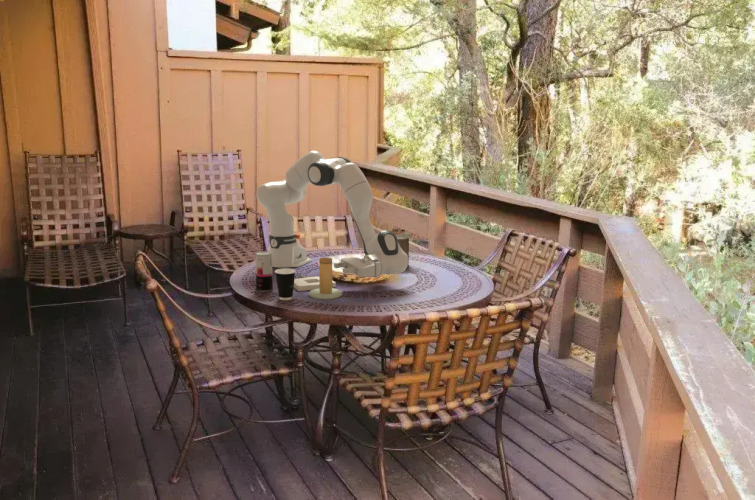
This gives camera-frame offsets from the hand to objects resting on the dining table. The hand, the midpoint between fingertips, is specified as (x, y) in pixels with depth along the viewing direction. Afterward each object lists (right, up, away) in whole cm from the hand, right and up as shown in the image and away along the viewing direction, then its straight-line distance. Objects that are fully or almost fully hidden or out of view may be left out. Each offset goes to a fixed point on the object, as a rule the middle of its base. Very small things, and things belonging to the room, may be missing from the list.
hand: (338, 268), depth 263 cm
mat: (-5, -10, 0) cm, 12 cm away
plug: (-5, -9, 0) cm, 11 cm away
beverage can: (-30, -9, +6) cm, 32 cm away
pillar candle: (+25, 0, +51) cm, 57 cm away
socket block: (-13, -7, +17) cm, 22 cm away
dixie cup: (-20, -12, -6) cm, 24 cm away
